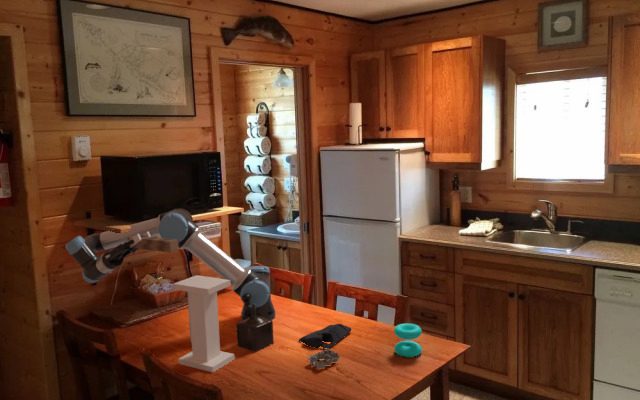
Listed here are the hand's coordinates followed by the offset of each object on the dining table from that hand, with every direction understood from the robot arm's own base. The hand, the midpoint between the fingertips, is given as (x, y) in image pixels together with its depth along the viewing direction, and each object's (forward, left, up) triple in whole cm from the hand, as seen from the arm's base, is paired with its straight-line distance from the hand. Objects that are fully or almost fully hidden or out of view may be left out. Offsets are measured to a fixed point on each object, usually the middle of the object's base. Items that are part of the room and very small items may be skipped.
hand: (144, 235), depth 206 cm
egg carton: (-62, +30, -45) cm, 82 cm away
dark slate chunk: (-68, +7, -45) cm, 82 cm away
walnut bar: (-3, +3, -5) cm, 6 cm away
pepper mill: (-38, +4, -45) cm, 59 cm away
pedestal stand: (-21, +18, -45) cm, 52 cm away
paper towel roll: (-19, -2, -45) cm, 49 cm away
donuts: (-94, +29, -45) cm, 108 cm away
